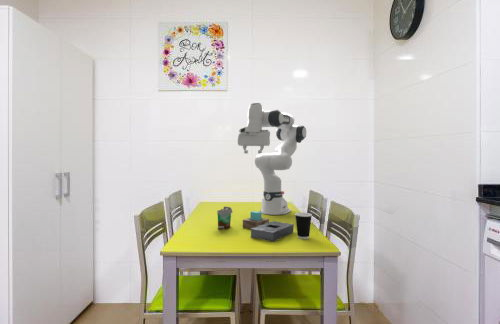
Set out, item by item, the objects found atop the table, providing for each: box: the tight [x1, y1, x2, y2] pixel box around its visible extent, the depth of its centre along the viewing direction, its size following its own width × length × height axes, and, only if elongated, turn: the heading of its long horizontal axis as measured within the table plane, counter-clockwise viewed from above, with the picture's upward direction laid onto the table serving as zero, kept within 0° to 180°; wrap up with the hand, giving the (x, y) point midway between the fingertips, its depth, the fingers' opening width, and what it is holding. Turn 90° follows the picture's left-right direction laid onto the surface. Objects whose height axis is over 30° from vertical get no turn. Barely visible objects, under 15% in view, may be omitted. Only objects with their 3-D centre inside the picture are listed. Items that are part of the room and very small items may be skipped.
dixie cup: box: [294, 212, 313, 240], centre depth 144 cm, size 8×8×11 cm
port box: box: [250, 220, 295, 242], centre depth 149 cm, size 20×12×4 cm, turn 146°
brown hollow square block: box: [242, 217, 270, 230], centre depth 164 cm, size 10×10×4 cm
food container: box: [216, 206, 233, 230], centre depth 162 cm, size 12×6×10 cm, turn 168°
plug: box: [249, 210, 263, 221], centre depth 164 cm, size 3×5×8 cm, turn 56°
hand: (252, 153), depth 181 cm, fingers open, 8 cm apart
